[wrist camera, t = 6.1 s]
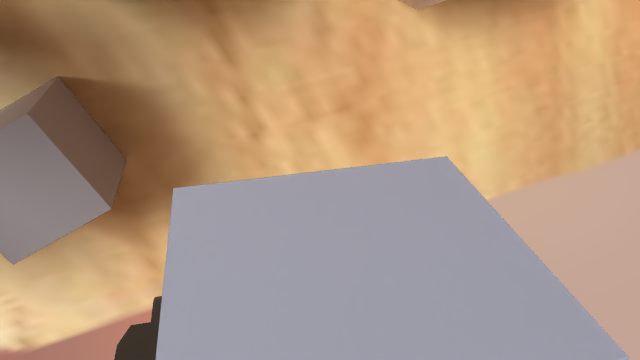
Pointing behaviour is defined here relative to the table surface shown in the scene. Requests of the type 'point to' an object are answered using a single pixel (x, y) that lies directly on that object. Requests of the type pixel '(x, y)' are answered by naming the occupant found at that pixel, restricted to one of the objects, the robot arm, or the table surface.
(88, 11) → the table surface
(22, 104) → the charcoal block
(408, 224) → the slate blue block
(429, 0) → the walnut block
